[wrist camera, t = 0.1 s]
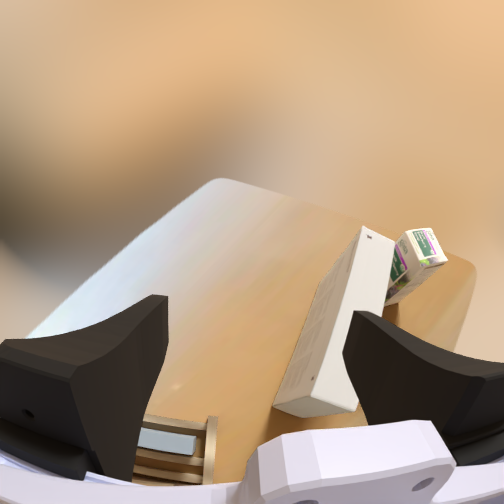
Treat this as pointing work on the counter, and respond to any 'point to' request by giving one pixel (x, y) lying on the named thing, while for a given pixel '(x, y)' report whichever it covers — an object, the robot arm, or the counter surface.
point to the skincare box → (335, 329)
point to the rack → (206, 462)
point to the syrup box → (413, 263)
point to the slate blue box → (167, 441)
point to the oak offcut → (151, 483)
